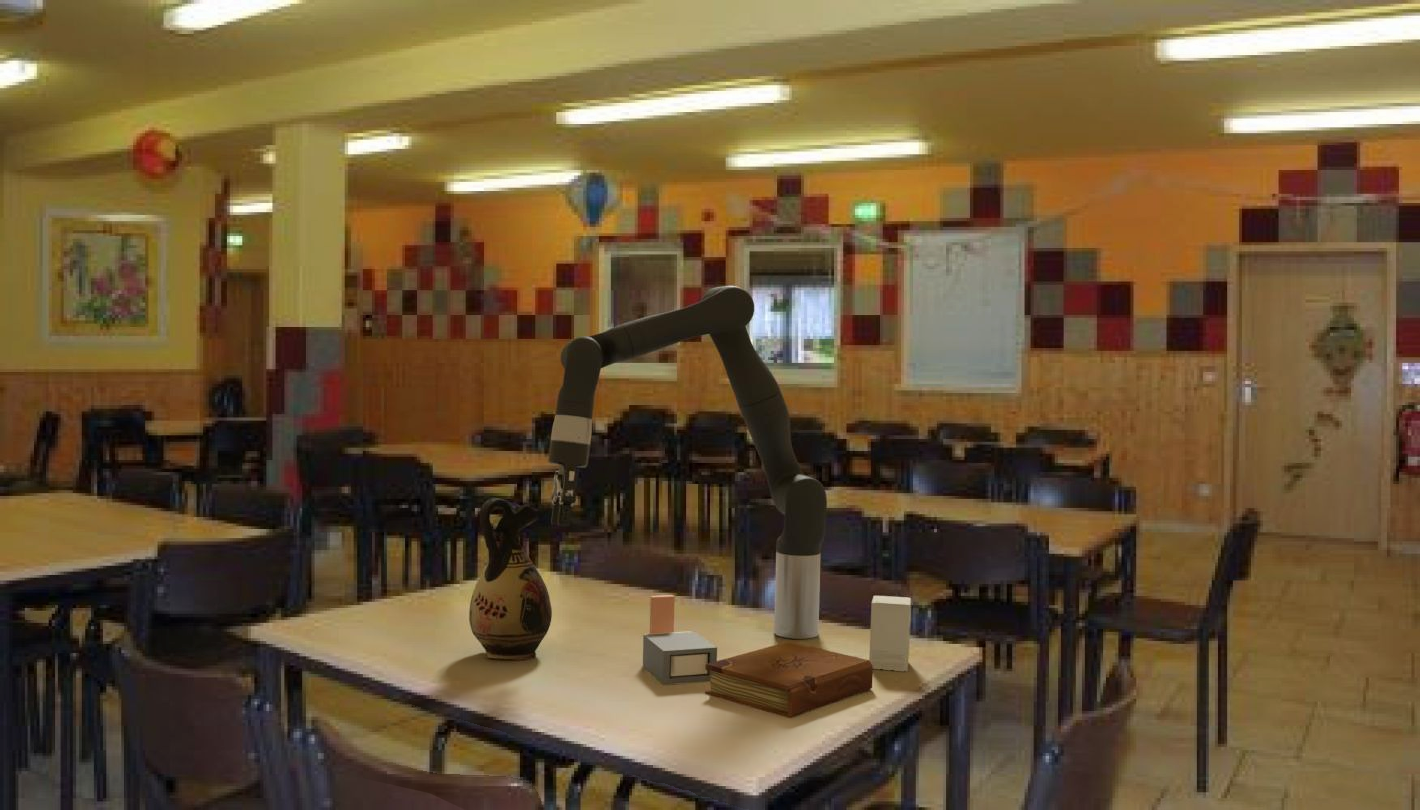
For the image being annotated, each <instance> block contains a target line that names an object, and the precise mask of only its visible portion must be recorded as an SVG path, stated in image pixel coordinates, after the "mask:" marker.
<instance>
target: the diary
mask: <svg viewBox="0 0 1420 810" xmlns="http://www.w3.org/2000/svg"><path fill="white" fill-rule="evenodd" d="M706 670H710V671H711V681H710V688H709V689H708V690H705V691H704V694H705V695H708V696H711V697H716V698H719V699H722V700H725V701H729V702H733V703H736V704H740V705H742V706H746V707H749V708H750V707H751V708H753V709H757V710H761V711H763V712H768V713H770V714H771V713H772V714H775V715H778V716H782V717H785V718H789V719H791V718H793V717H797V716H799V715H803V714H805V713H809V712H811V711H813V710H817V709H819V708H822V707H824V706H828V705H831V704H833V703H836V702H839V701H841V700H844V698H845V699H847V698H850V697H853V696H855V694H856V695H859V694H862V693H864V691H865V692H866V691H870V690H871V689H872V688H873V673H874V671H873V670H874V669H873V666H872V664H871V662H870V661H869V659H866V658H862V657H858V656H857V657H856V656H852V655H848V654H843V653H840V652H835V651H830V650H828V649H827V650H826V649H822V648H817V647H815V646H810V645H805V644H800V643H796V642H792V641H785V642H781V643H778V644H775V645H771V646H767V647H762V648H760V649H756V650H752V651H749V652H745V653H741V654H738V655H734V656H731V657H727V658H724V659H723V658H722V659H719V660H717V661H716V662H712V663H708V664H706ZM869 689H870V690H869ZM858 693H859V694H858Z"/></svg>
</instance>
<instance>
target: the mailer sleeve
mask: <svg viewBox="0 0 1420 810" xmlns="http://www.w3.org/2000/svg"><path fill="white" fill-rule="evenodd" d="M679 632H680V633H664V634H650V633H647V634H648V635H644V634H643V635H642V637H643V638H642V641H643V643H642V668H643V669H645V671H647V673H648V674H650V675H651V676H652V677H653V678H654V679H655V680H656V681H657V682H659V684H661V685H662V686H666V685H680V684H692V683H693V684H694V683H705V682H711V671H710V670H707V674H696V675H682V676H670V655H679V654H693V653H707V654H708V663H712V662H716V661H718V646H716V645H715V644H713V643H712V642H710V641H709V640H707V639H706V638H705V637H703V636H702V635H700V634H699V633H697V632H696V631H691V632H689V631H679Z"/></svg>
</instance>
